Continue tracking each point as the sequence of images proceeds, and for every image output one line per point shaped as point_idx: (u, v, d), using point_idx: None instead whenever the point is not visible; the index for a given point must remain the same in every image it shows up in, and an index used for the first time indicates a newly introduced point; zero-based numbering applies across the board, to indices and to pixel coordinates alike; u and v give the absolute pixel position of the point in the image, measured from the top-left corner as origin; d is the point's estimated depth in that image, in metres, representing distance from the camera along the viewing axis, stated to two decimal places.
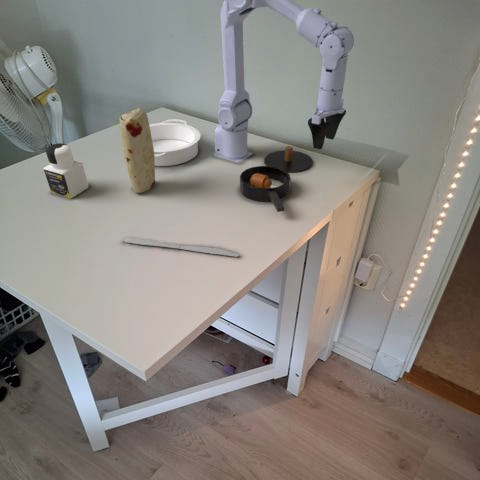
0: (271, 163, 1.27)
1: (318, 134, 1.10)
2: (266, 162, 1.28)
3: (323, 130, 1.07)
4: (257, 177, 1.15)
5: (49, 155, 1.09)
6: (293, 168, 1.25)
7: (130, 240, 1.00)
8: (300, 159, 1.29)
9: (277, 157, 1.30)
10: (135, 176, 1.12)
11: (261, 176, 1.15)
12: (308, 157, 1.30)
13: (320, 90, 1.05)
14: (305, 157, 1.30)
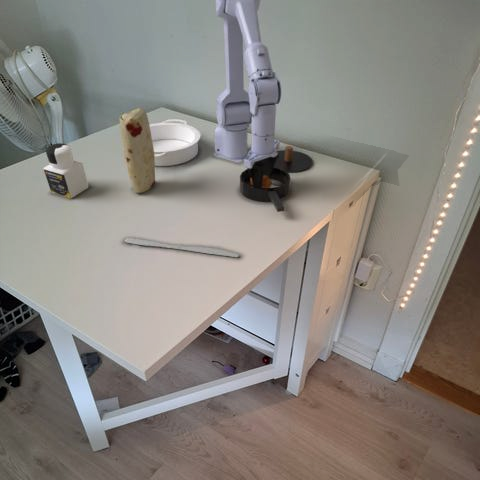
0: None
1: (256, 174, 1.13)
2: None
3: (259, 171, 1.10)
4: None
5: (49, 155, 1.09)
6: (293, 168, 1.25)
7: (130, 241, 1.00)
8: (300, 159, 1.29)
9: None
10: (135, 176, 1.12)
11: None
12: (308, 157, 1.30)
13: (252, 135, 1.07)
14: (305, 157, 1.30)
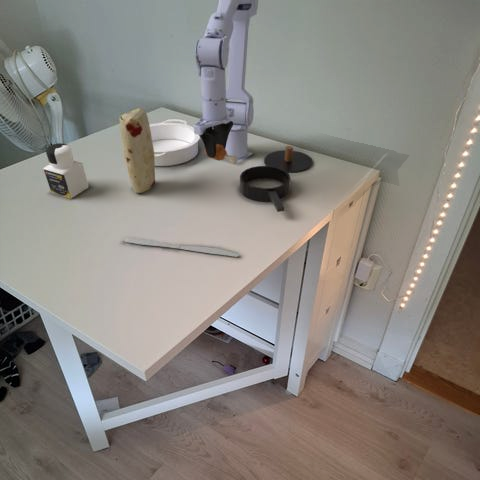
0: (271, 163, 1.27)
1: (209, 142, 1.08)
2: (266, 162, 1.28)
3: (211, 138, 1.06)
4: None
5: (49, 155, 1.09)
6: (293, 168, 1.25)
7: (130, 240, 1.00)
8: (300, 159, 1.29)
9: (277, 157, 1.30)
10: (135, 176, 1.12)
11: None
12: (308, 157, 1.30)
13: (202, 100, 1.03)
14: (305, 157, 1.30)
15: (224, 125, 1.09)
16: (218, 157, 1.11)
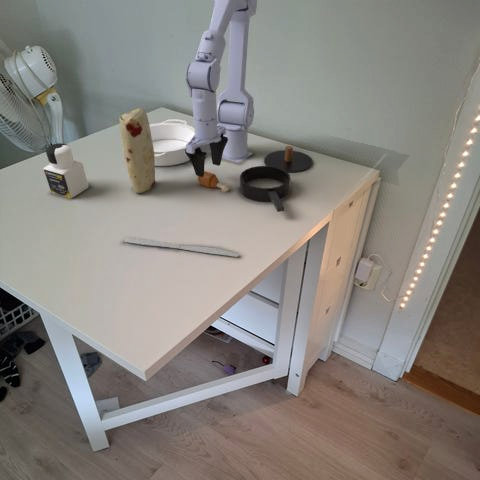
0: (271, 163, 1.27)
1: (197, 162, 1.11)
2: (266, 162, 1.28)
3: (199, 159, 1.08)
4: (204, 175, 1.17)
5: (49, 155, 1.09)
6: (293, 168, 1.25)
7: (130, 240, 1.00)
8: (300, 159, 1.29)
9: (277, 157, 1.30)
10: (135, 176, 1.12)
11: (208, 174, 1.16)
12: (308, 157, 1.30)
13: (194, 120, 1.06)
14: (305, 157, 1.30)
15: (219, 141, 1.13)
16: (210, 185, 1.17)
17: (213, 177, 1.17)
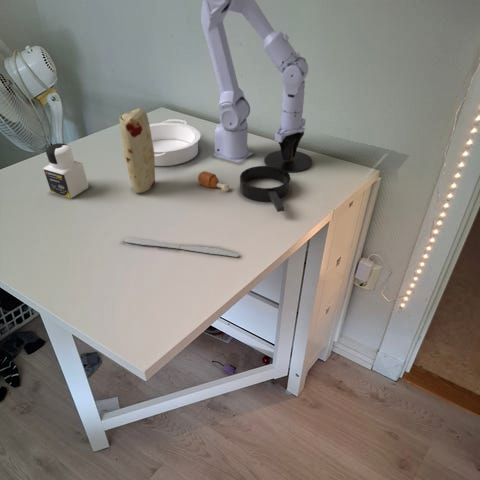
0: (271, 163, 1.27)
1: (286, 148, 1.24)
2: (266, 162, 1.28)
3: (289, 144, 1.22)
4: (204, 175, 1.17)
5: (49, 155, 1.09)
6: (293, 168, 1.25)
7: (130, 240, 1.00)
8: (300, 159, 1.29)
9: (277, 157, 1.30)
10: (135, 176, 1.12)
11: (208, 174, 1.17)
12: (308, 157, 1.30)
13: (282, 112, 1.18)
14: (305, 157, 1.30)
15: (296, 134, 1.24)
16: (210, 185, 1.17)
17: (213, 177, 1.17)
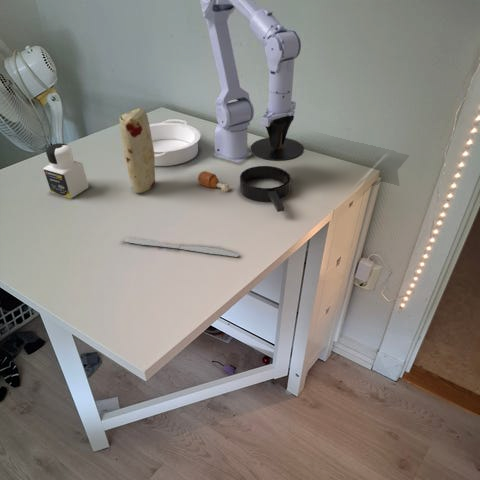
0: (258, 151, 1.15)
1: (274, 133, 1.12)
2: (253, 150, 1.15)
3: (278, 129, 1.10)
4: (204, 175, 1.17)
5: (49, 155, 1.09)
6: (282, 156, 1.13)
7: (130, 240, 1.00)
8: (290, 146, 1.17)
9: (265, 144, 1.18)
10: (135, 176, 1.12)
11: (208, 174, 1.17)
12: (299, 144, 1.18)
13: (269, 93, 1.06)
14: (296, 144, 1.18)
15: (285, 118, 1.12)
16: (210, 185, 1.17)
17: (213, 177, 1.17)
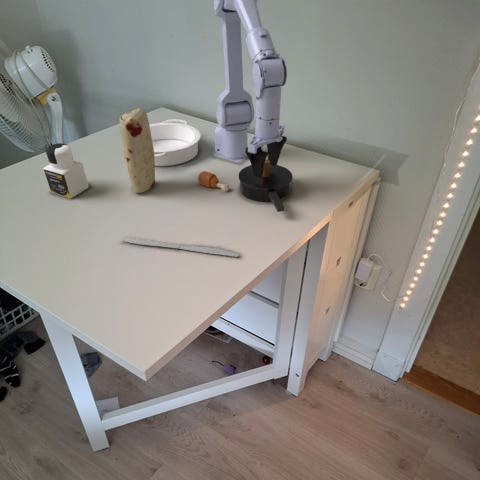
0: (246, 179, 1.13)
1: (257, 162, 1.08)
2: (240, 177, 1.13)
3: (260, 159, 1.06)
4: (204, 175, 1.17)
5: (49, 155, 1.09)
6: (270, 185, 1.11)
7: (130, 240, 1.00)
8: (279, 174, 1.15)
9: None
10: (135, 176, 1.12)
11: (208, 174, 1.17)
12: (288, 171, 1.16)
13: (256, 119, 1.04)
14: (285, 171, 1.16)
15: None
16: (210, 185, 1.17)
17: (213, 177, 1.17)
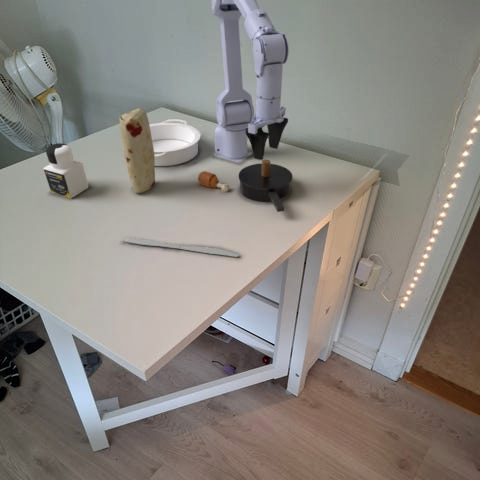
0: (246, 179, 1.13)
1: (257, 144, 1.05)
2: (240, 177, 1.13)
3: (261, 140, 1.02)
4: (204, 175, 1.17)
5: (49, 155, 1.09)
6: (270, 185, 1.11)
7: (130, 240, 1.00)
8: (279, 174, 1.15)
9: (253, 171, 1.16)
10: (135, 176, 1.12)
11: (208, 174, 1.17)
12: (288, 171, 1.16)
13: (257, 98, 1.01)
14: (285, 171, 1.16)
15: (279, 122, 1.07)
16: (210, 185, 1.17)
17: (213, 177, 1.17)
